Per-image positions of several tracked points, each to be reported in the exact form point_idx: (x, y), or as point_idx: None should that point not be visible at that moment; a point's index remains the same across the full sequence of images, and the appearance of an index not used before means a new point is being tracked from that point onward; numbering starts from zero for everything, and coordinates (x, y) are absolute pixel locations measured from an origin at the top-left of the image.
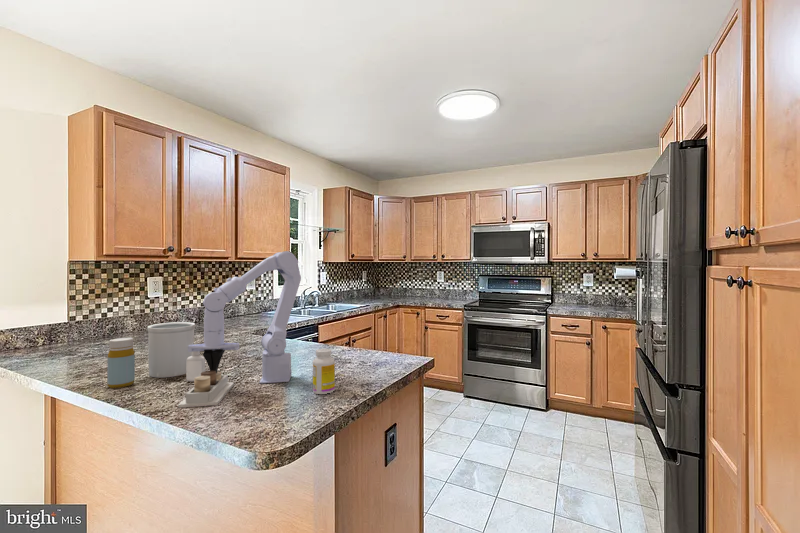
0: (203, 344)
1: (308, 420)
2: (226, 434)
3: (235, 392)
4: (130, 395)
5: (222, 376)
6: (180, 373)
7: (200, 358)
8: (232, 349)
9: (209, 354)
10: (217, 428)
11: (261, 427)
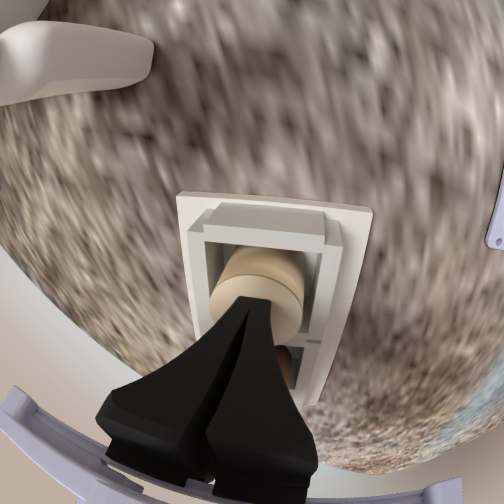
0: (47, 464)
1: (449, 443)
2: (337, 461)
3: (375, 324)
4: (26, 236)
5: (306, 248)
6: (40, 5)
7: (28, 84)
8: (392, 500)
9: (205, 480)
10: (324, 453)
11: (387, 455)
